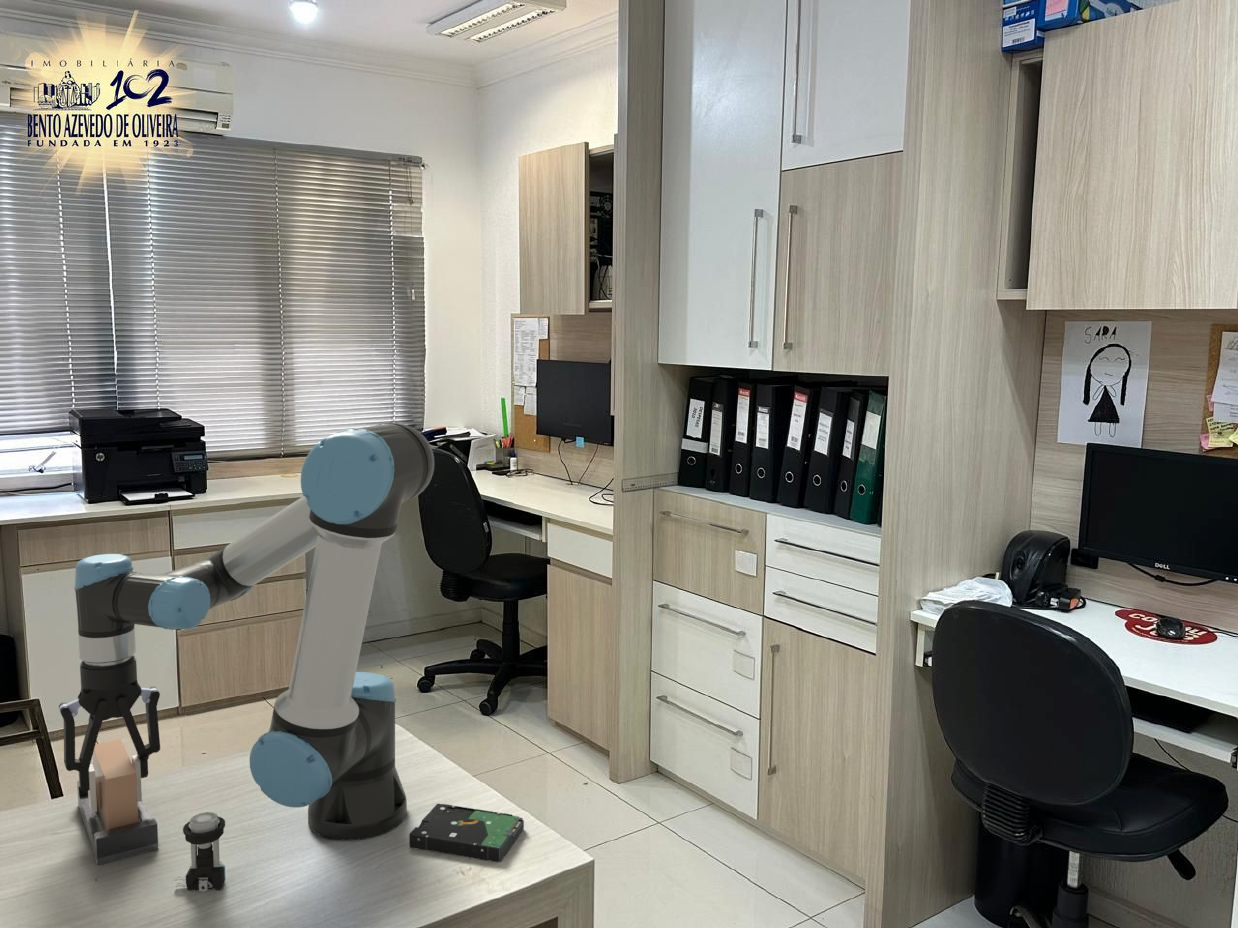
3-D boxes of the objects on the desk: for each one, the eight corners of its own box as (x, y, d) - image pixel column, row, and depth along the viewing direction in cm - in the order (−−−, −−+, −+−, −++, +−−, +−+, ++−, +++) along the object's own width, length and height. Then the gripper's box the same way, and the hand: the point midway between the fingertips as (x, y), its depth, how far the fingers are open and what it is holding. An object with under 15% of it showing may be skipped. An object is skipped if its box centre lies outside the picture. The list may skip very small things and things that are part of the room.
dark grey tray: (158, 848, 144) (157, 823, 144) (97, 865, 140) (96, 838, 139) (133, 792, 161) (132, 769, 160) (78, 804, 156) (76, 781, 156)
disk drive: (408, 852, 146) (501, 865, 143) (407, 834, 146) (501, 847, 142) (436, 818, 156) (524, 830, 153) (436, 802, 156) (524, 813, 152)
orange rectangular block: (139, 836, 146) (136, 772, 144) (109, 843, 143) (105, 779, 142) (123, 798, 157) (120, 739, 156) (95, 804, 155) (92, 744, 153)
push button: (170, 899, 132) (167, 829, 130) (181, 877, 137) (178, 810, 136) (222, 895, 133) (219, 827, 132) (231, 874, 138) (228, 807, 137)
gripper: (169, 640, 155) (175, 778, 158) (34, 661, 144) (43, 808, 147) (179, 654, 149) (185, 797, 152) (39, 676, 138) (48, 830, 141)
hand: (115, 802), depth 150 cm, fingers open, 5 cm apart
